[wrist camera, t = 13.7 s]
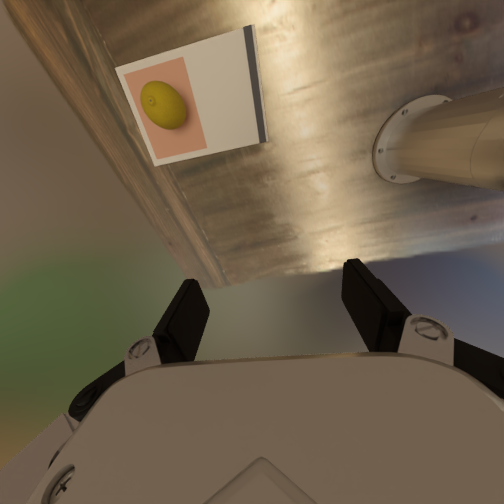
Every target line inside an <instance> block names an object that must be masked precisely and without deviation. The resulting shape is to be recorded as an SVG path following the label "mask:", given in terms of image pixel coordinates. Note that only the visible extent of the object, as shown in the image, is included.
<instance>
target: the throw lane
mask: <svg viewBox="0 0 504 504" xmlns="http://www.w3.org/2000/svg"><path fill="white" fill-rule="evenodd" d="M115 70H116V72H117V75H118V77H119V79H120V82H121V84H122V87H123V89H124V92H125V94H126V97H127V99H128V102H129V104H130V106H131V109H132V111H133V114H134V116H135V119H136V121H137V124H138V126H139V129H140V131H141V134H142V136H143V138H144V141H145V143H146V146H147V148H148V151H149V153H150V156H151V158H152V161H153V163H154V165H155V166H159V165H163V164H168V163H172V162H177V161H181V160H186V159H190V158H195V157H199V156H204V155H208V154H213V153H217V152H222V151H226V150H231V149H235V148H240V147H244V146H249V145H253V144H258V143H262V142H267V141H269V140H268V132H267V124H266V116H265V108H264V100H263V91H262V83H261V75H260V67H259V59H258V50H257V42H256V34H255V26H254V24H253V25H249V26H245V27H243V28H240V29H237V30H234V31H231V32H228V33H225V34H221V35H218V36H215V37H212V38H209V39H206V40H202V41H199V42H196V43H193V44H190V45H187V46H183V47H180V48H177V49H174V50H171V51H167V52H164V53H161V54H158V55H155V56H152V57H148V58H145V59H142V60H139V61H136V62H133V63H129V64H126V65H123V66H120V67H117V68H115ZM155 80H156V81H162V82H165V83H167V84H169V85H171V86H172V87H173V88H174V89H175V90H176V91H177V92H178V93H179V95H180V96H181V98H182V100H183V102H184V105H185V109H186V116H185V120H184V122H183V124H182V125H181V126H180V127H179V128H177V129H174V130H167V129H163V128H161V127H159V126H157V125H156V124H154V123H153V122H152V121H151V120H150V119H149V118H148V117H147V115H146V114H145V112H144V110H143V108H142V105H141V100H140V95H141V90H142V88H143V86H144V85H145V84H146V83H148V82H150V81H155Z"/></svg>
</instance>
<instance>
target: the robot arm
mask: <svg viewBox="0 0 504 504" xmlns="http://www.w3.org/2000/svg"><path fill="white" fill-rule="evenodd" d="M378 150H379V152H378ZM373 163H374V168H375V170H376V172H377V173H378V174H379V176H380V177H381V178H383V179H384V180H386V181H389V182H392V183H397V184H405V183H411V182H414V181H417V180H419V179H421V178H426V179H432V180H438V181H444V182H450V183H456V184H461V185H467V186H473V187H479V188H486V189H492V190H498V191H504V87H502V88H498V89H495V90H491V91H487V92H483V93H480V94H476V95H472V96H468V97H465V98H461V99H457V100H452V99H451V98H449V97H446V96H444V95H436V94H435V95H427V96H423V97H420V98H417V99H415V100H413V101H410V102H408V103H407V104H405V105H404V106H402V107H401V108H400V109H398V110H397V111H396V112H395V113H394V114H393V115H392V116H391V117H390V118H389V119H388V120H387V121H386V123H385V124H384V126H383V127H382V129H381V130H380V132H379V134H378V136H377V139H376V142H375V145H374V149H373ZM341 296H342V301H343V303H344V305H345V307H346V309H347V311H348V312H349V314H350V316H351V318H352V320H353V322H354V323H355V326H356V327H357V329H358V331H359V333H360V335H361V337H362V339H363V341H364V343H365V344H366V346H367V348H368V350H369V352H357V353H331V354H311V355H292V356H274V357H256V358H239V359H222V360H205V361H194V359H195V356H196V353H197V350H198V347H199V344H200V341H201V338H202V335H203V332H204V329H205V326H206V323H207V320H208V317H209V313H210V310H209V307H208V305H207V302H206V300H205V297H204V295H203V293H202V290H201V288H200V285H199V283H198V281H197V280H195V279H186V280H184V282H183V283H182V285H181V287H180V288H179V290H178V292H177V293H176V295H175V296H174V298H173V300H172V301H171V303H170V305H169V306H168V308H167V310H166V311H165V313H164V315H163V316H162V318H161V320H160V321H159V323H158V325H157V326H156V328H155V329H154V331H153V332H154V333H153V335H152V336H145V337H142V338H140V339H138V340H137V341H135V342H134V343H133V344H132V345H130V347H129V348H128V349H127V351H126V353H125V357H124V361H122V362H121V363H119V364H118V365H116V366H115V367H113V368H112V369H110V370H109V371H108V372H106V373H105V374H104V375H102V376H100V377H99V378H97V379H96V380H94V381H93V382H92V383H90V384H89V385H87V386H86V387H85V388H83V389H82V391H80V392H79V394H77V396H76V397H75V398H74V399H73V401H72V403H71V405H70V407H69V410H68V412H67V413H66V414H64V413H62V414H61V415H60V416H59V417H58V418H57V419H55V420H54V421H53V422H52V423H51V424H50V425H49V426H48V427H47V428H46V429H44V430H43V431H42V432H41V433H40V434H39V435H38V436H37V437H36V438H34V440H32V441H31V442H30V443H29V444H28V445H27V446H26V447H25V448H24V449H22V450H21V451H20V452H19V453H18V454H17V455H16V456H15V457H14V458H13V459H11V460H10V461H9V462H8V463H7V464H6V465H5V466H4V467H3V468H2V469H1V470H0V504H504V358H502V357H500V356H497V355H495V354H492V353H490V352H487V351H485V350H483V349H480V348H478V347H475V346H473V345H470V344H468V343H465V342H463V341H460V340H458V339H455V338H454V335H453V332H452V331H451V330H450V328H449V327H448V326H446V325H445V324H444V323H442V322H441V321H439V320H437V319H435V318H432V317H430V316H426V315H419V314H416V315H412V314H411V313H410V312H409V310H408V309H407V308H406V307H405V306H404V305H403V304H402V303H401V302H400V301H399V300H398V298H397V297H396V296H395V295H394V294H393V293H392V292H391V291H390V290H389V289H388V288H387V286H386V285H385V284H384V283H383V282H382V281H381V280H380V279H377V278H376V277H375V276H374V275H373V274H372V273H371V272H370V271H369V270H368V268H367V267H366V266H365V265H364V264H363V263H362V262H361V261H360V259H358V258H356V259H348V260H347V262H344V265H343V280H342V295H341Z"/></svg>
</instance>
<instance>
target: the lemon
mask: <svg viewBox="0 0 504 504" xmlns="http://www.w3.org/2000/svg"><path fill="white" fill-rule="evenodd" d="M140 100H141V105H142V108H143V110H144V112H145V114H146V115H147V117H148V118H149V119H150V120H151V121H152V122H153V123H154V124H156V125H157V126H159V127H161V128H163V129H167V130H174V129H177V128H179V127H180V126H181V125H182V124H183V122H184V120H185V116H186V109H185V105H184V102H183V100H182V98H181V96H180V95H179V93H178V92H177V91H176V90H175V89H174V88H173V87H172V86H171V85H169V84H167V83H165V82H162V81H156V80H155V81H150V82H148V83H146V84H145V85H144V86H143V88H142V90H141V95H140Z"/></svg>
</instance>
